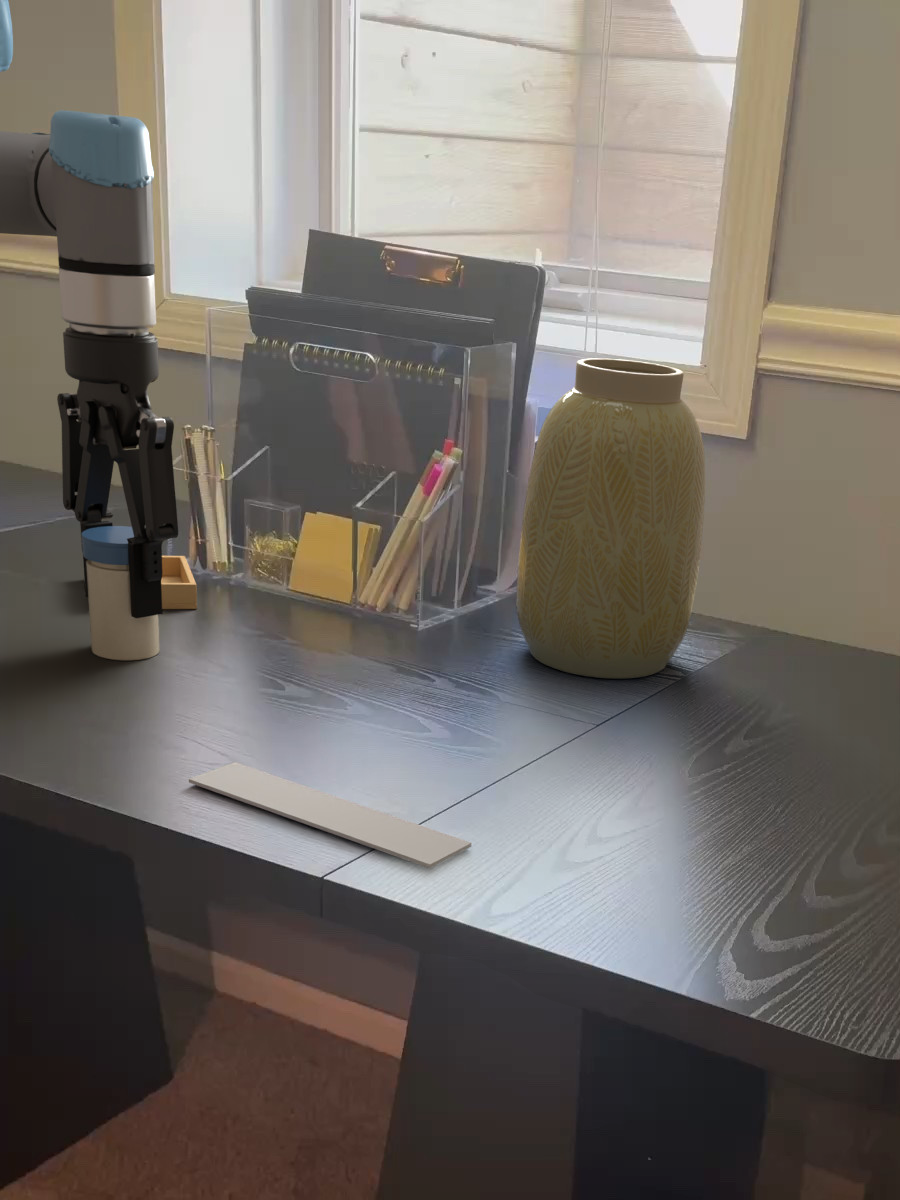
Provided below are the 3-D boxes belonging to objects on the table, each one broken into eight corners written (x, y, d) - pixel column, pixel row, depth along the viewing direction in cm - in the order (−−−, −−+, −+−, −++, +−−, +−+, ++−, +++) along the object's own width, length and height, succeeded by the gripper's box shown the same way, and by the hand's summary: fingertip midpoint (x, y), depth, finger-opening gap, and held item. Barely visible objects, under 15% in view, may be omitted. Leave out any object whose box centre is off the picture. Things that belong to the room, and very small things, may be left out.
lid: (68, 551, 129) (66, 530, 128) (132, 543, 133) (131, 522, 133) (108, 568, 125) (107, 546, 124) (173, 560, 130) (172, 538, 129)
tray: (90, 578, 153) (89, 554, 152) (185, 579, 156) (185, 555, 155) (96, 609, 144) (95, 583, 143) (197, 609, 147) (196, 584, 146)
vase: (568, 693, 134) (600, 380, 121) (479, 638, 146) (500, 349, 133) (719, 678, 142) (764, 383, 129) (622, 627, 155) (655, 354, 142)
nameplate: (235, 766, 111) (188, 783, 107) (235, 762, 111) (188, 778, 107) (471, 847, 102) (429, 869, 98) (471, 842, 102) (430, 864, 98)
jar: (77, 648, 133) (70, 541, 128) (131, 636, 137) (126, 533, 133) (119, 664, 130) (114, 556, 125) (173, 652, 134) (170, 547, 129)
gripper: (219, 344, 118) (224, 626, 129) (83, 312, 128) (98, 574, 139) (140, 346, 112) (151, 639, 124) (5, 312, 123) (27, 585, 134)
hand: (123, 604), depth 131 cm, fingers closed on lid, 6 cm apart
